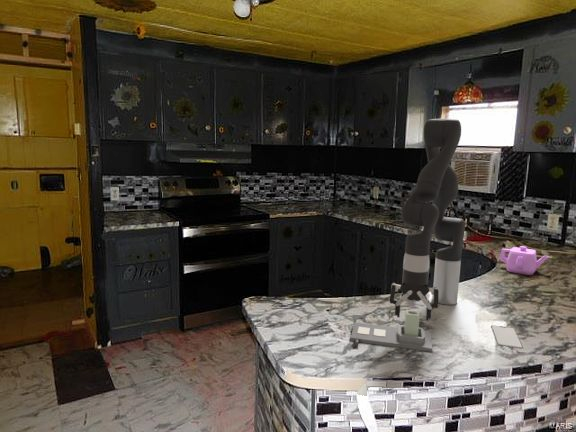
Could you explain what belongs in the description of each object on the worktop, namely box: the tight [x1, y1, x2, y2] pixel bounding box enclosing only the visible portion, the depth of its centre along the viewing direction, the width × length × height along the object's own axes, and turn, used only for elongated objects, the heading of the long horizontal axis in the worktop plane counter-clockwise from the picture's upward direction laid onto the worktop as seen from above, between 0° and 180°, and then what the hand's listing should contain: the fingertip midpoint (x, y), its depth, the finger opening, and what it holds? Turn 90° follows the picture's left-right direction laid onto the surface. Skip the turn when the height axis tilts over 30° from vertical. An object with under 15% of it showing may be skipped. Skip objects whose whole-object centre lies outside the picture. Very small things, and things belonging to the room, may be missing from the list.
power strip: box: [350, 322, 433, 353], centre depth 130 cm, size 16×24×3 cm, turn 76°
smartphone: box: [490, 325, 524, 349], centre depth 135 cm, size 7×1×15 cm
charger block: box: [404, 309, 421, 337], centre depth 130 cm, size 4×4×8 cm
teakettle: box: [499, 245, 549, 276], centre depth 210 cm, size 17×17×12 cm
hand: (412, 318), depth 130 cm, fingers open, 8 cm apart
